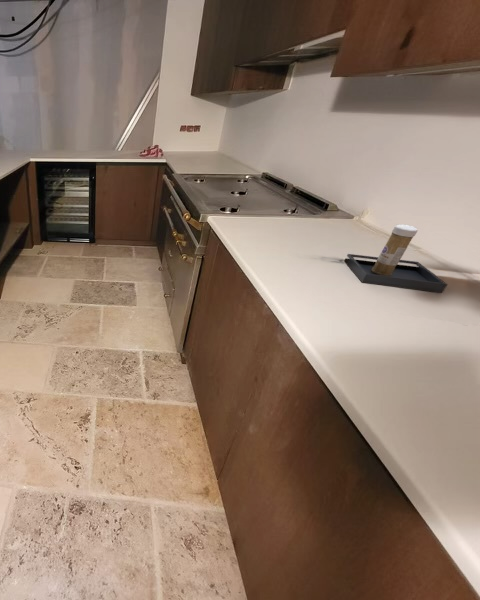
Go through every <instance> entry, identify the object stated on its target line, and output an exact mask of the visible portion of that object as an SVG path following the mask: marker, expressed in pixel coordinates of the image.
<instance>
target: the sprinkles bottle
mask: <svg viewBox="0 0 480 600" xmlns="http://www.w3.org/2000/svg"><path fill="white" fill-rule="evenodd" d="M418 231H419V228H417V227H416V226H412V225H409V224H408V225H407V224H396V225H394V227H393V228H392V231H391V235H390V236H389V238H388V239H387V242H386V244H385V245H384V247H383V248H382V249H381V251H380V254H379V255H378V256H377V257H378V259H377V260H376V261H375V262H376V263H375V265H374V267H373V268H372V269H371V270H372V272H373V273H375V274H378V275H383V276H390V275H392V272H393V270H394V268H395V267H396V265H397V264H398V265H399V263H400V262H399V261H400V260H402V258H403V255H404V254H405V252H406V250H407V249H408V246H409V245H410V244H411V241H412V239H414V237H415V236H416V235H417V233H418Z"/></svg>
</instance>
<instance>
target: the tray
mask: <svg viewBox="0 0 480 600" xmlns="http://www.w3.org/2000/svg"><path fill="white" fill-rule="evenodd" d="M346 256H347V257H346V258H345V259H344V263H345V264H346V265H347V267H349V269H350V270H351V271H352V272H353V274H354V275H355V276H356V277H357V278H358V279H359V280H360V282H361V283H363V284H364V283H365V284H370V285H371V284H372V285H379V286H387V287H395V288H400V289H401V288H402V289H408V290H409V289H410V290H417V291H424V292H431V293H439V294H442V293H443V292H444V291H445V289H446V288H447V286H448V285H449V284H448V283H446V282H445V281H444V280H442V279H441V278H440V277H439V276H438V275H436V274H434V273H433V272H432V271H431V270H430V269H428V268H427V267H426V266H425V265H423V264H422V263H420V262H419V261H414V260H405V259H400V261H399V262H398V264H397V265H396V267H395V268H394V270H393V272H392V275H390V276H383V275H378V274H375V273H373V272H372V270H371V269H372V268H373V267H374V265H375V263H376V261H377V259H378V257H379V256H370V255H362V254H361V255H360V254H352V253H347V255H346ZM356 258H358V259H356ZM363 259H367V260H363ZM372 260H376V261H372ZM399 263H401V264H399ZM406 264H407V265H406ZM408 264H410V265H408ZM413 265H414V266H413ZM415 265H416V266H415Z"/></svg>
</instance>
